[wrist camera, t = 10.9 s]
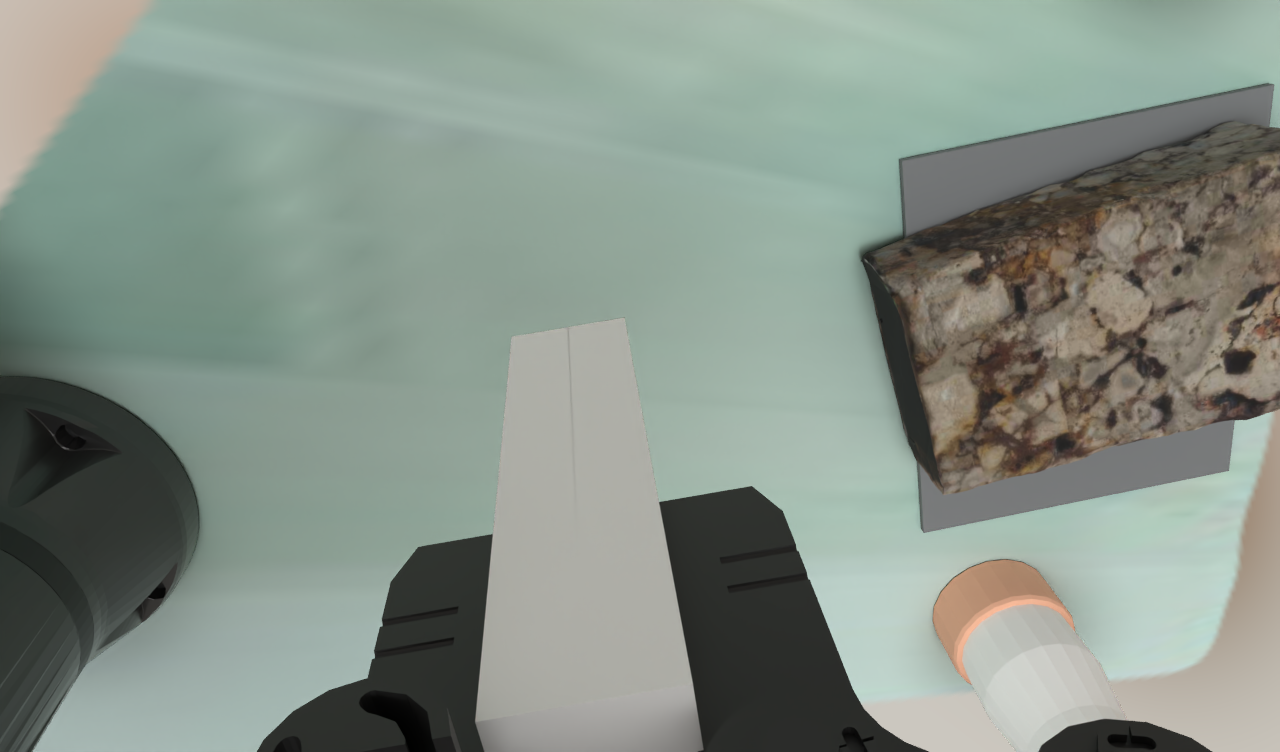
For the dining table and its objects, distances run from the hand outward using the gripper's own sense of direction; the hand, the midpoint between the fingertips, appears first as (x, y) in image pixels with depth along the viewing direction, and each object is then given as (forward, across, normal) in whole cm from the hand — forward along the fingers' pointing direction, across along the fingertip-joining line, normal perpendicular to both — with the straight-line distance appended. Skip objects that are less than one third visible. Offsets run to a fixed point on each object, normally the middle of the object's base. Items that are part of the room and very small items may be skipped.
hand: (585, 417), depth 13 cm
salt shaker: (+33, +20, -35) cm, 52 cm away
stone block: (+30, +14, -17) cm, 37 cm away
